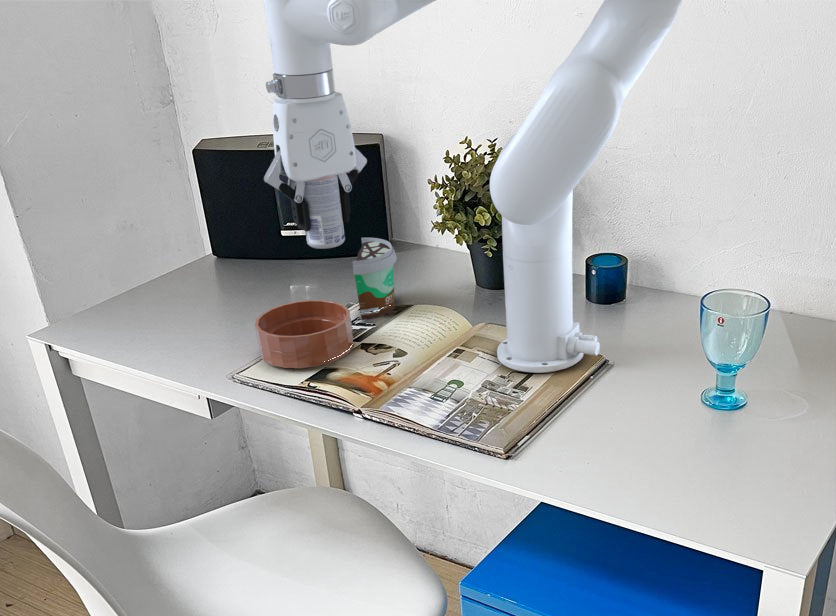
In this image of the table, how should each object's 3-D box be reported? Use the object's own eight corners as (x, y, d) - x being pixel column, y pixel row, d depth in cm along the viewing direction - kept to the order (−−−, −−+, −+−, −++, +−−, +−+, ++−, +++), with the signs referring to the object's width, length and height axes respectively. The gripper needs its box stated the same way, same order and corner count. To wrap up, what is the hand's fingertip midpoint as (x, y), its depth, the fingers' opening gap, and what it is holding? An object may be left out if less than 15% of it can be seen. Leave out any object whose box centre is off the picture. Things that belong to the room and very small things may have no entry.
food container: (398, 320, 157) (391, 260, 152) (360, 322, 157) (351, 262, 152) (405, 292, 167) (398, 234, 162) (369, 294, 168) (361, 236, 162)
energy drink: (332, 234, 142) (321, 148, 135) (352, 242, 138) (342, 155, 132) (300, 243, 139) (287, 156, 132) (320, 252, 136) (308, 163, 129)
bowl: (365, 333, 154) (361, 300, 151) (338, 373, 142) (332, 338, 139) (281, 332, 156) (275, 299, 153) (247, 370, 145) (240, 335, 142)
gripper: (255, 100, 121) (278, 244, 131) (377, 80, 129) (390, 217, 138) (232, 91, 126) (255, 230, 136) (350, 72, 134) (364, 205, 144)
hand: (323, 222), depth 137 cm, fingers closed on energy drink, 5 cm apart
